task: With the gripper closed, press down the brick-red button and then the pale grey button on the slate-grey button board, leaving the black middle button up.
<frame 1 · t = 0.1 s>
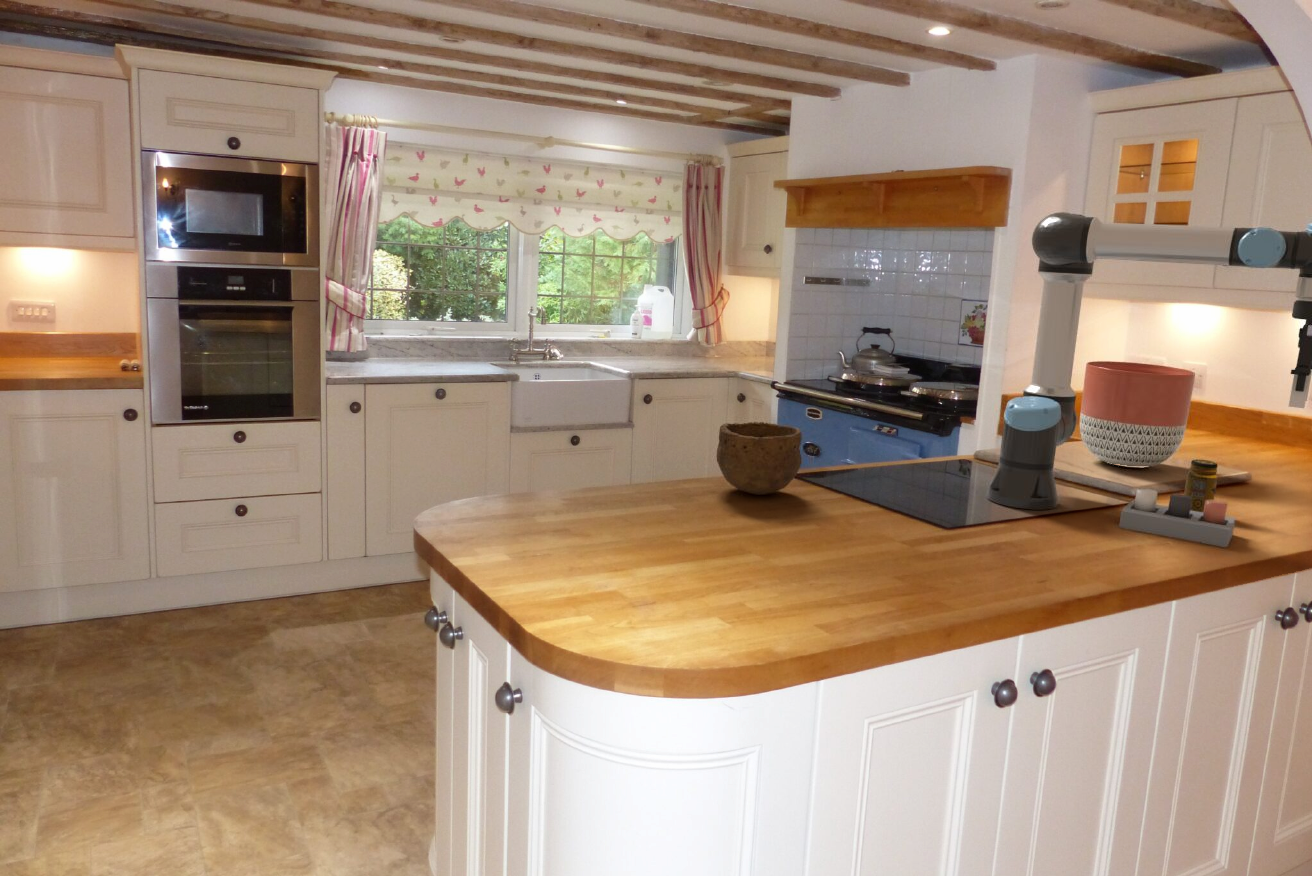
hand: (1297, 403, 208), 28 cm above the counter, fingers open, 13 cm apart
red button: (1214, 511, 207), point 6 cm above the counter, slide at 0.0 cm
planter: (1125, 466, 276), on the counter
bowl: (756, 493, 225), on the counter
black button: (1179, 505, 210), point 5 cm above the counter, slide at 0.0 cm
condiment: (1193, 514, 227), on the counter
button board: (1175, 530, 211), on the counter
grey button: (1145, 499, 214), point 6 cm above the counter, slide at 0.0 cm
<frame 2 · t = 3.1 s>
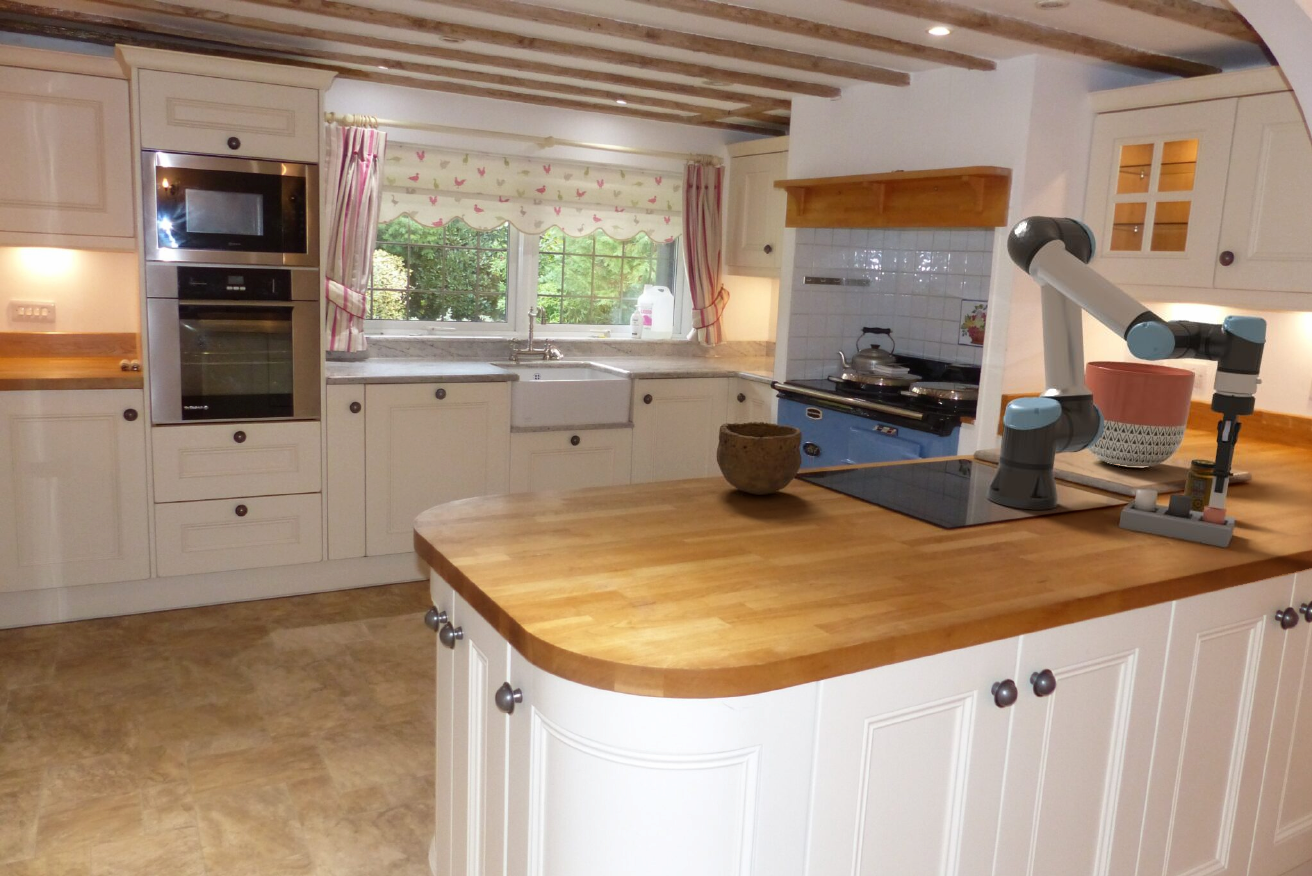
hand: (1216, 507, 206), 7 cm above the counter, fingers closed
red button: (1213, 517, 207), point 4 cm above the counter, slide at 1.3 cm, touching gripper
everything else where it was.
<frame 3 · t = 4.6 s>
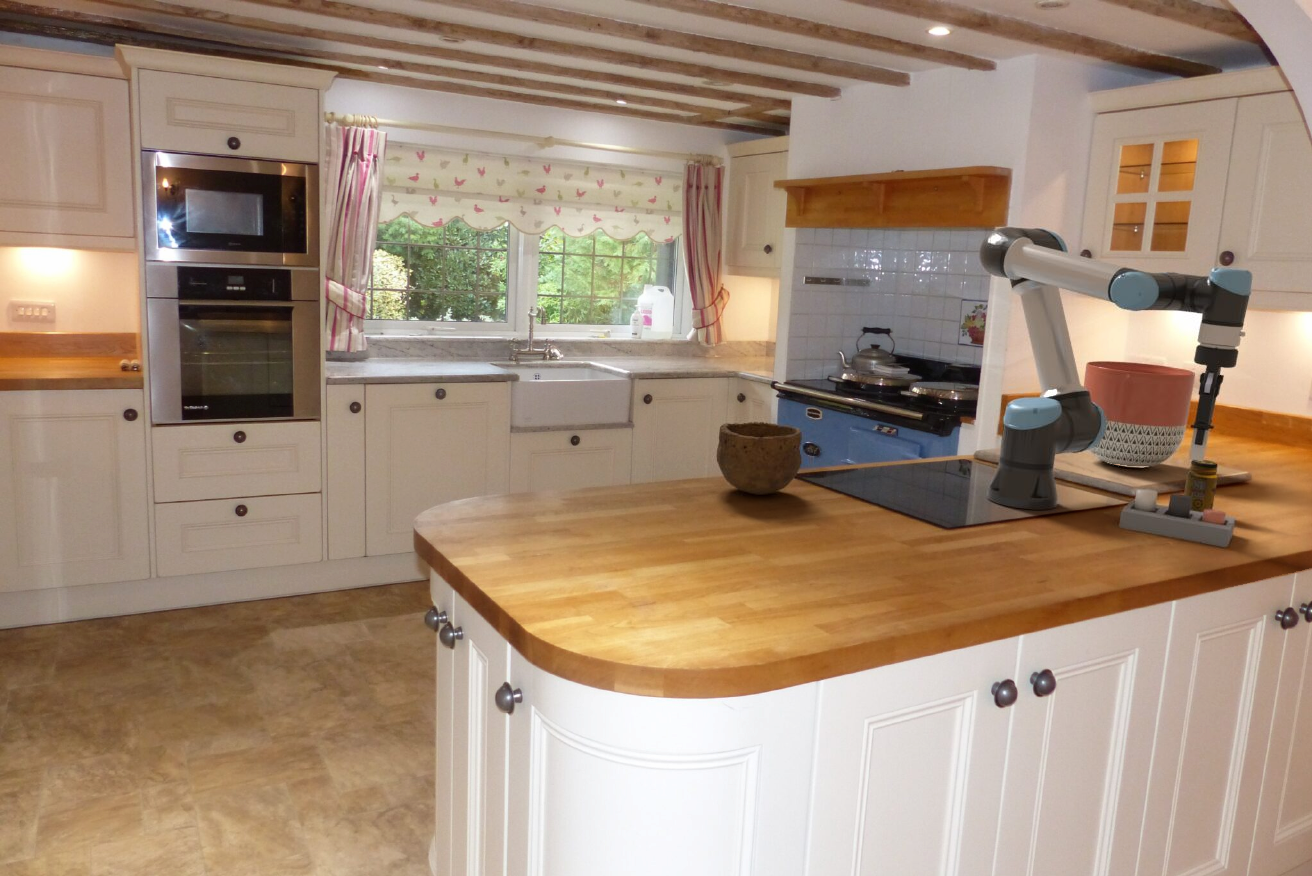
hand: (1195, 459, 208), 16 cm above the counter, fingers closed
red button: (1213, 521, 207), point 4 cm above the counter, slide at 2.0 cm
everything else where it was.
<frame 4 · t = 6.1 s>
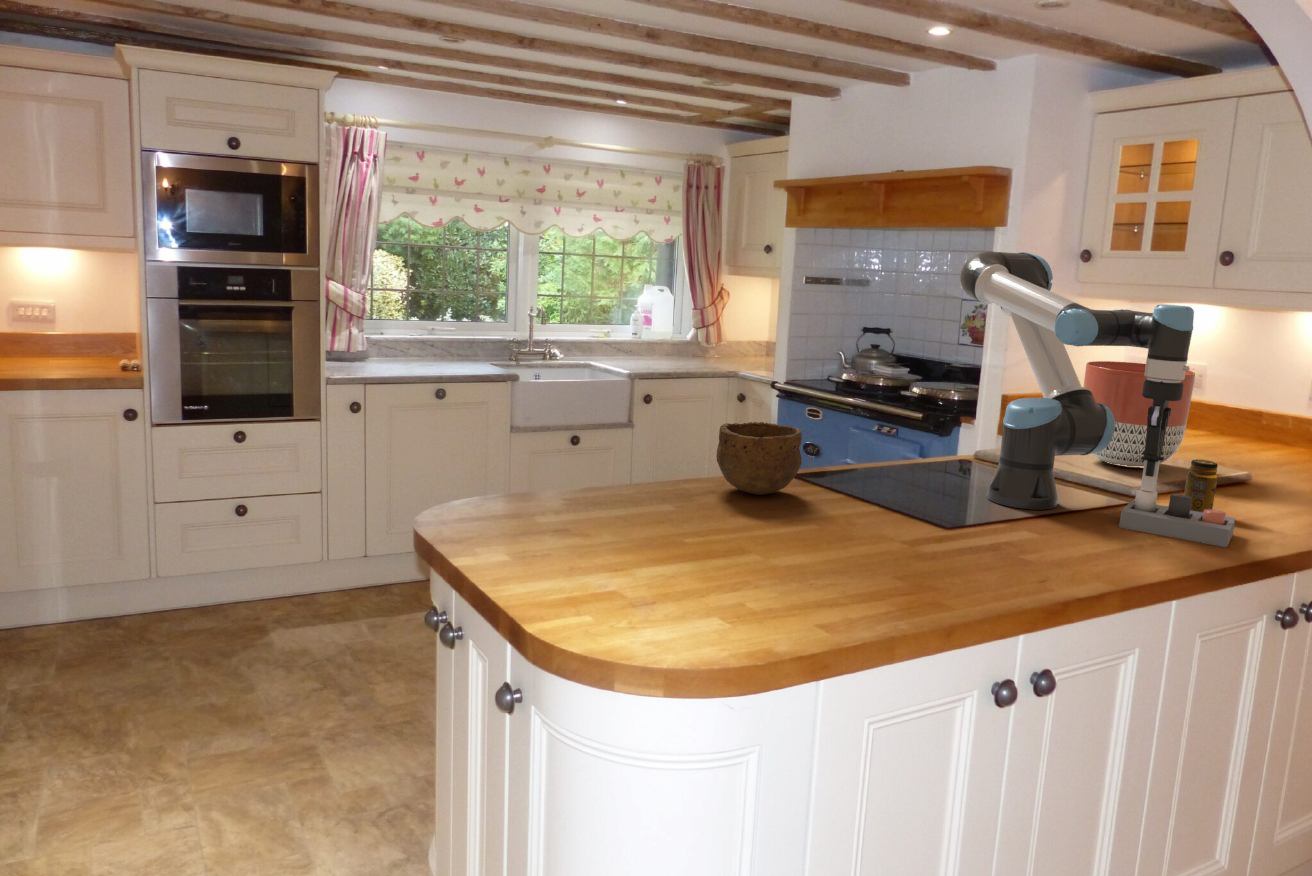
hand: (1147, 490, 213), 8 cm above the counter, fingers closed
grey button: (1145, 500, 214), point 5 cm above the counter, slide at 0.1 cm, touching gripper
everything else where it was.
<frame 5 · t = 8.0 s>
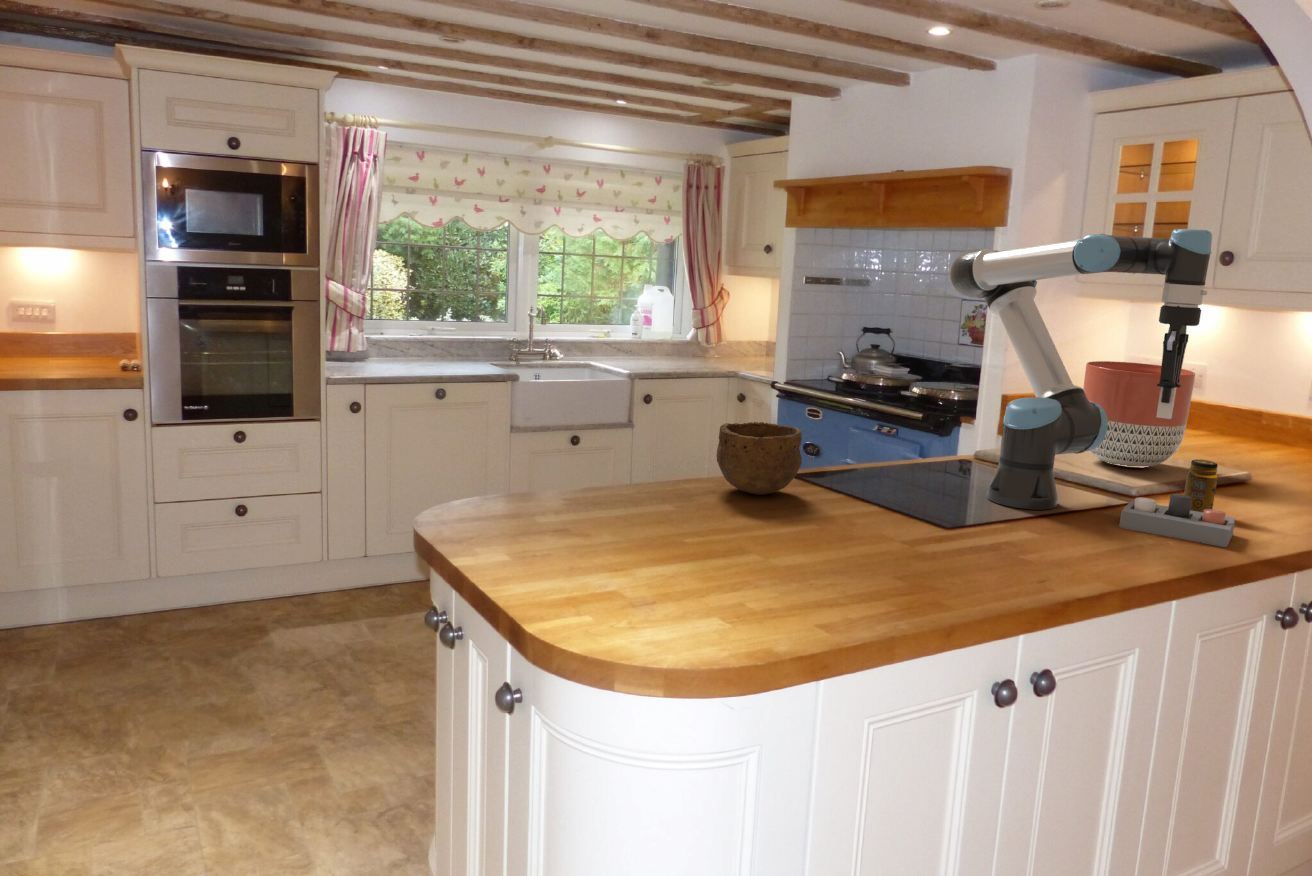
hand: (1163, 417, 212), 23 cm above the counter, fingers closed
grey button: (1144, 508, 214), point 4 cm above the counter, slide at 2.0 cm
everything else where it was.
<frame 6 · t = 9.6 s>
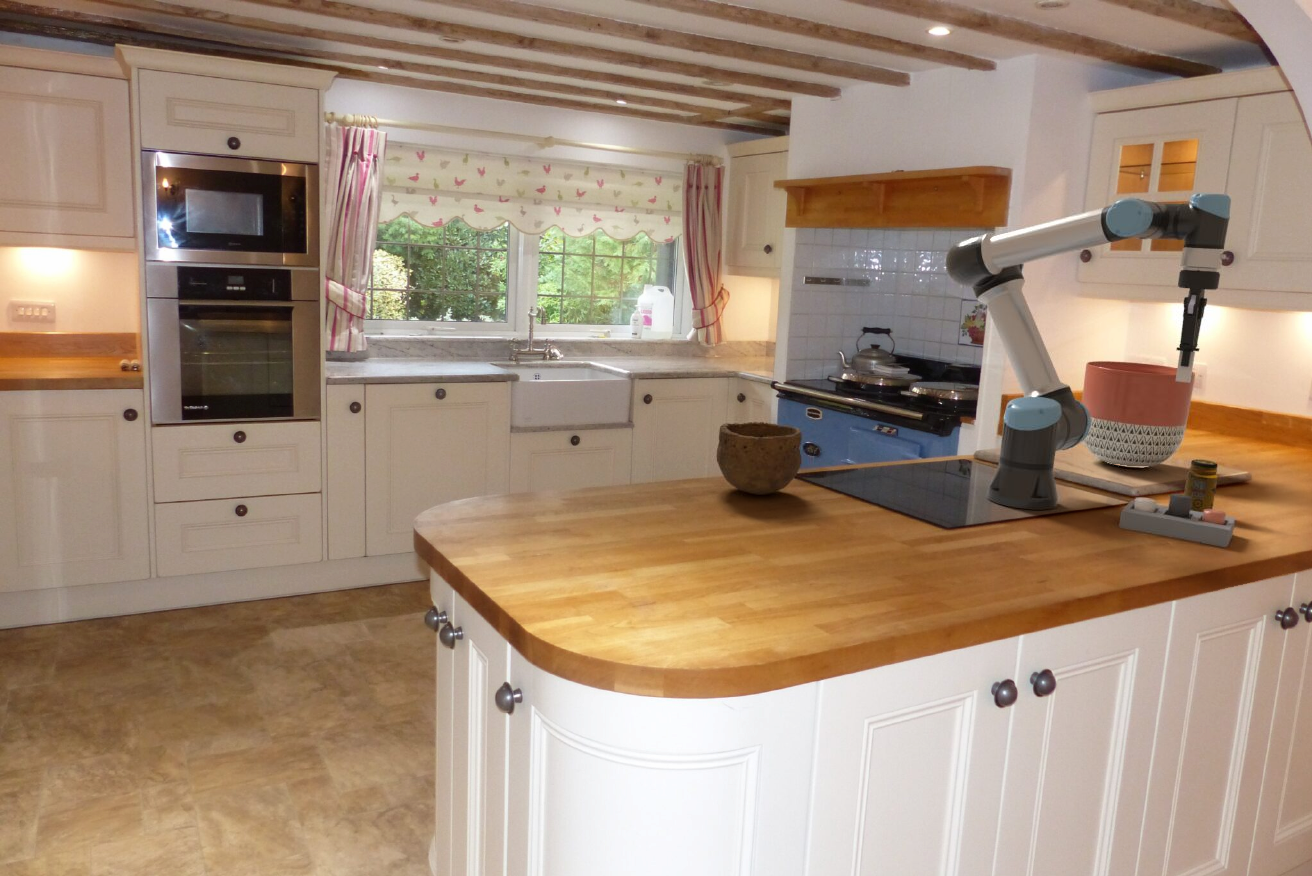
hand: (1182, 381, 215), 30 cm above the counter, fingers closed
nothing on the counter moved.
at the end: red button slide at 2.0 cm; grey button slide at 2.0 cm; black button slide at 0.0 cm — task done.
